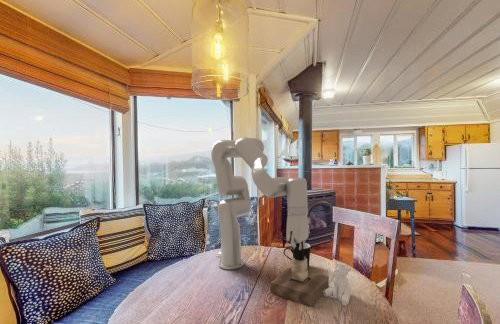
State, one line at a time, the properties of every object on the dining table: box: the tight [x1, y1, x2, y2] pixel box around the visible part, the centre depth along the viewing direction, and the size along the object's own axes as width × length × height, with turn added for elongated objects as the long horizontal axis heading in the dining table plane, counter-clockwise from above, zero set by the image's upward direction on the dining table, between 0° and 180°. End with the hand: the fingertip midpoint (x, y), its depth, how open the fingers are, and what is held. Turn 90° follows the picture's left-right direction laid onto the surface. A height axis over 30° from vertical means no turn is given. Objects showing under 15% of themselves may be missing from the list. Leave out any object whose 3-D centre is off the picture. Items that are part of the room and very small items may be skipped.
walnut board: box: [270, 266, 330, 308], centre depth 93 cm, size 16×16×4 cm
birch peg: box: [290, 258, 309, 285], centre depth 93 cm, size 4×4×12 cm
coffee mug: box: [283, 242, 311, 270], centre depth 114 cm, size 12×9×10 cm
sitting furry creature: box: [322, 261, 352, 307], centre depth 87 cm, size 10×9×12 cm
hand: (299, 259), depth 93 cm, fingers closed
